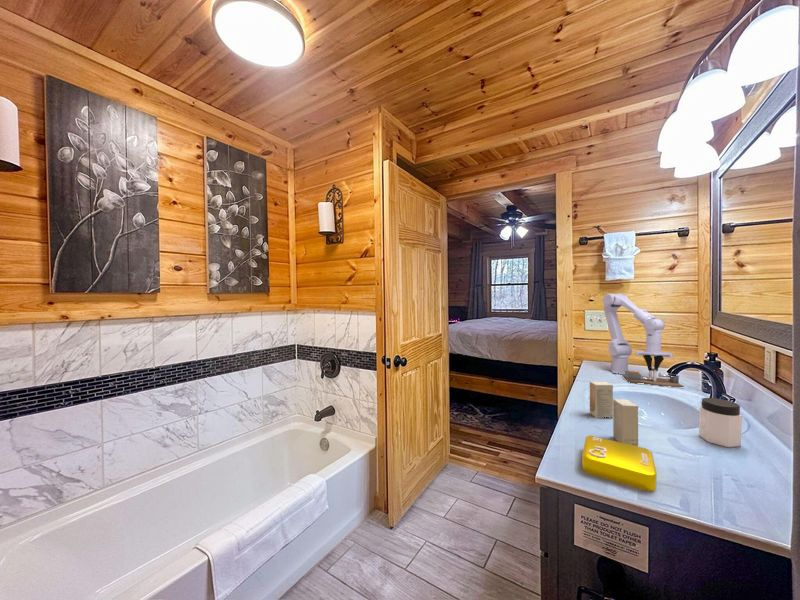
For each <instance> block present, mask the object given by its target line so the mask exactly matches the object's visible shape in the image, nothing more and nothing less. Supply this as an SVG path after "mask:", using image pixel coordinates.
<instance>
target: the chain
mask: <svg viewBox="0 0 800 600" xmlns="http://www.w3.org/2000/svg"><path fill="white" fill-rule="evenodd" d="M657 372H658V371H657V370H656V369H654V367H653V366H652V370H651V371H649V370H648V376H641V379H644V380H652V381H654V382H656V378H657Z"/></svg>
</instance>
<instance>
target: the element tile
mask: <svg viewBox="0 0 800 600" xmlns="http://www.w3.org/2000/svg"><path fill="white" fill-rule="evenodd" d="M581 459H582V460H581V469H582V470H583V472H585V473H587V474H588V475H591V474H593V475H592V476H595V475H596V477H598V476H599V478H602V479H605V478H606V480H609V481H612V480H613V482H615V481H616V483H619V484H623V485H625V486H630V487H632V488H633V487H634V488H637V489H638V490H643V491H647V492H655V491H656V490H657V477H658V476H657V469H656V463H655V460H654V455H653V453H652V451H651V450H649V449H648V448H646V447H641V446H639V445H638V446H634V445H629V444H625V443H621V442H618V441H617V440H611V439H607V438H603V437H599V436H594V435H587V436H586V437H585V439H584V444H583V449H582V456H581Z"/></svg>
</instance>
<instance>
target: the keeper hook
mask: <svg viewBox="0 0 800 600" xmlns="http://www.w3.org/2000/svg"><path fill="white" fill-rule="evenodd" d="M668 375H669V374H662V373H661V372H658V378H661V377H662V378H669V379H670V381H671V382H672V383H676V384H680V381H679V380H680V376H679V375H678V374H676V375H677V376H675V377H671V376H668Z"/></svg>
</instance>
